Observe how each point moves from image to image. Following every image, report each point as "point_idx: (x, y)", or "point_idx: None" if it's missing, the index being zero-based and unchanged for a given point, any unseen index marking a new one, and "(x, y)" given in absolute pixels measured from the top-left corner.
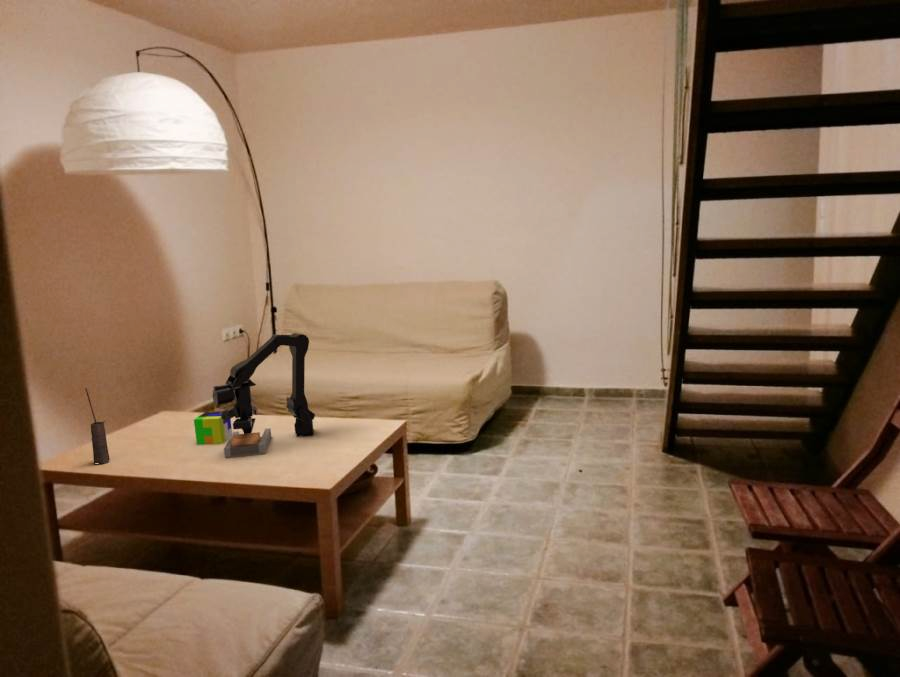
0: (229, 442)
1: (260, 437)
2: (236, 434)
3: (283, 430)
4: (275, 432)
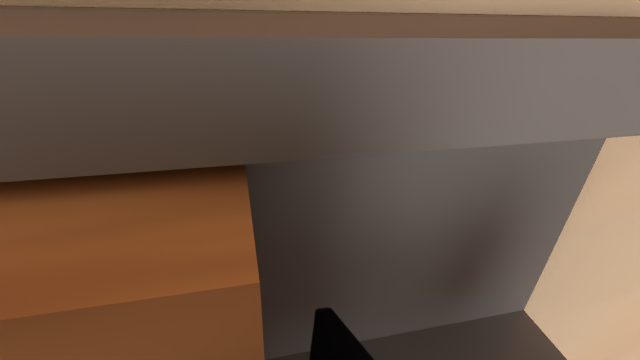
0: (123, 98)
1: (520, 281)
2: (261, 331)
3: (595, 346)
4: (593, 318)
